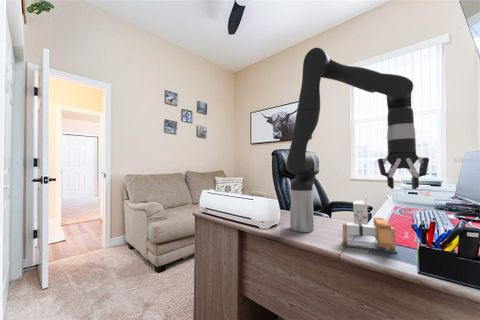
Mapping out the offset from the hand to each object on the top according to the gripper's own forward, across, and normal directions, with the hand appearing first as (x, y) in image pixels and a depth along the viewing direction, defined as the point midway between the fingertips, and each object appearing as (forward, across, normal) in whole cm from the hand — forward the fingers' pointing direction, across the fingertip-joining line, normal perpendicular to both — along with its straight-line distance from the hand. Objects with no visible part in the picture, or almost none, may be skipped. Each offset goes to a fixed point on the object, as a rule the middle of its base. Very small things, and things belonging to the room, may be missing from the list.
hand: (402, 188), depth 70 cm
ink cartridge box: (+20, -11, +16) cm, 28 cm away
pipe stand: (+19, -11, -4) cm, 23 cm away
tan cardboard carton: (+17, -7, -4) cm, 19 cm away
